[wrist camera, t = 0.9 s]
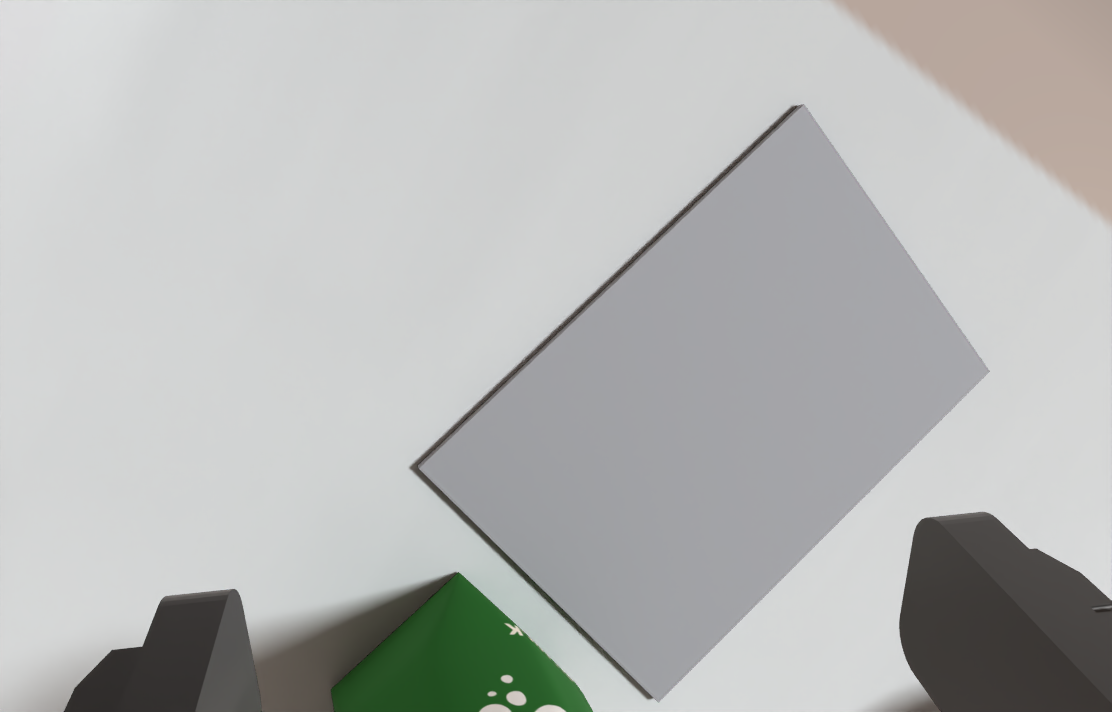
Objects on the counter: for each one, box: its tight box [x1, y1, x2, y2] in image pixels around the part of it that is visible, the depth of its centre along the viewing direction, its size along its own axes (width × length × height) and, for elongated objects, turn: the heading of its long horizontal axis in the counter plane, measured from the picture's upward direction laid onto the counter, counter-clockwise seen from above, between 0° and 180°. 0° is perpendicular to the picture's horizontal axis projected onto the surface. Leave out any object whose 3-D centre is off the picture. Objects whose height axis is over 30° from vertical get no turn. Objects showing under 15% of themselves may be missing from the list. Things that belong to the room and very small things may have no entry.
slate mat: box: [418, 104, 990, 702], centre depth 40 cm, size 16×22×1 cm
